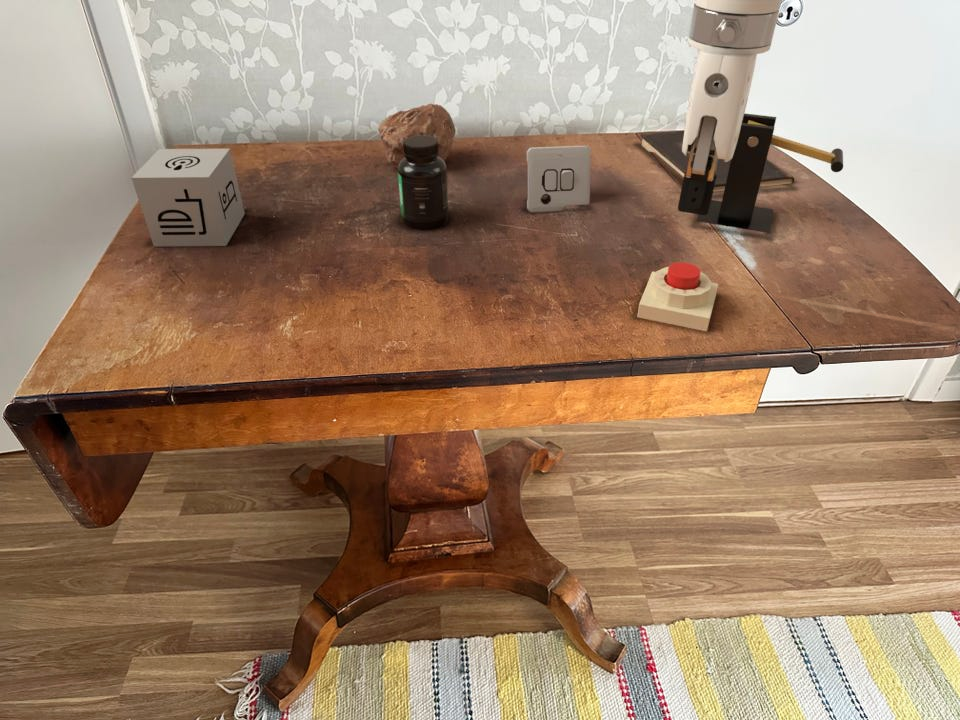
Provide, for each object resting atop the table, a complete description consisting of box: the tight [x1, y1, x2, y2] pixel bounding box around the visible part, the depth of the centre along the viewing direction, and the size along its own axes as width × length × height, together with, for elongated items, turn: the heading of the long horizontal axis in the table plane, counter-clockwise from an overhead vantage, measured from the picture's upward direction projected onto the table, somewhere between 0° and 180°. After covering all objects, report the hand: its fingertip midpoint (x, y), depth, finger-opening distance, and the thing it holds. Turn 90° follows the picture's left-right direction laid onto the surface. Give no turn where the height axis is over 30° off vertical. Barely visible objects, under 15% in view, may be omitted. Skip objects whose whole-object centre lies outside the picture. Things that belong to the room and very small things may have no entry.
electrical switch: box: [526, 145, 592, 213], centre depth 104 cm, size 9×5×9 cm, turn 95°
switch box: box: [636, 266, 719, 332], centre depth 83 cm, size 8×8×4 cm
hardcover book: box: [639, 130, 795, 193], centre depth 118 cm, size 16×23×2 cm
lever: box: [747, 120, 844, 173], centre depth 93 cm, size 13×5×2 cm, turn 68°
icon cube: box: [131, 148, 246, 248], centre depth 98 cm, size 10×10×10 cm
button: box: [666, 262, 701, 290], centre depth 81 cm, size 4×4×2 cm
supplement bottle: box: [397, 135, 449, 231], centre depth 99 cm, size 7×7×12 cm
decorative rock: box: [377, 103, 457, 170], centre depth 117 cm, size 13×11×10 cm
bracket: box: [696, 112, 777, 234], centre depth 98 cm, size 10×8×15 cm
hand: (693, 209), depth 76 cm, fingers closed
